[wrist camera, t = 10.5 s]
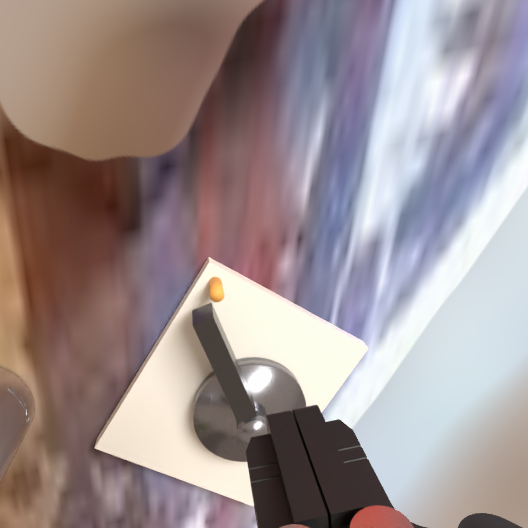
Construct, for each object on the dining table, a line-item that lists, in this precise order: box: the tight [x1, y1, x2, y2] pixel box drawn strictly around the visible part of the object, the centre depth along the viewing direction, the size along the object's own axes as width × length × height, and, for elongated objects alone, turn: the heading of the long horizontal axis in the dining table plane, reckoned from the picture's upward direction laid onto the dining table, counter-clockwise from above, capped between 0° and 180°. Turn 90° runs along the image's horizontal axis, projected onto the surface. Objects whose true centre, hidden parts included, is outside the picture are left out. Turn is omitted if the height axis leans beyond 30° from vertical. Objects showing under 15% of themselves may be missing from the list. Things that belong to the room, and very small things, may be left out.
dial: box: [192, 303, 306, 462], centre depth 41 cm, size 18×11×4 cm, turn 20°
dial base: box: [95, 257, 368, 506], centre depth 44 cm, size 22×18×4 cm
